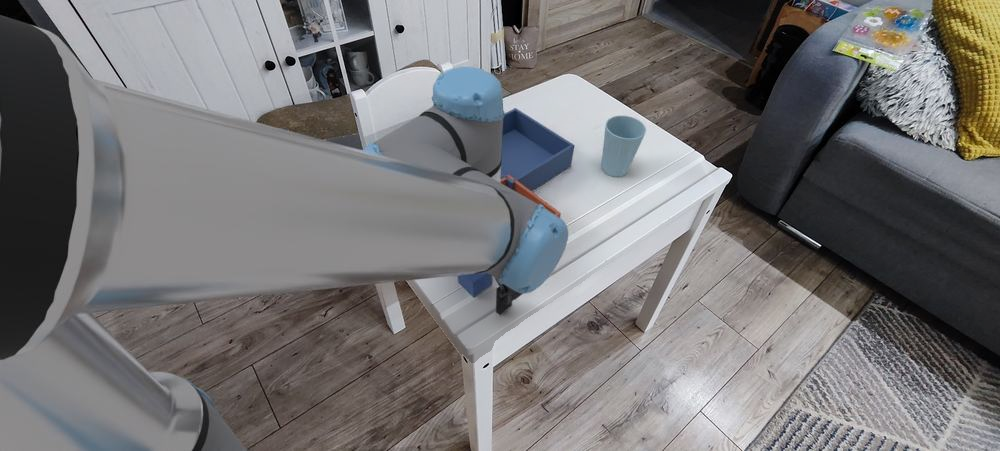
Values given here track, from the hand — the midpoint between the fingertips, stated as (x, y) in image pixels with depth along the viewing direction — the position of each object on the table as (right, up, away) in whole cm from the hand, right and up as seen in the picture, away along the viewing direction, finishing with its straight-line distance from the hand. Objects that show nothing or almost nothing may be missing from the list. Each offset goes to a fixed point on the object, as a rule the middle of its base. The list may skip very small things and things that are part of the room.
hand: (475, 282), depth 75 cm
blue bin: (+7, +22, +21) cm, 31 cm away
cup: (+28, +21, +20) cm, 40 cm away
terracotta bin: (+5, +8, +8) cm, 12 cm away
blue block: (0, 0, 0) cm, 0 cm away
